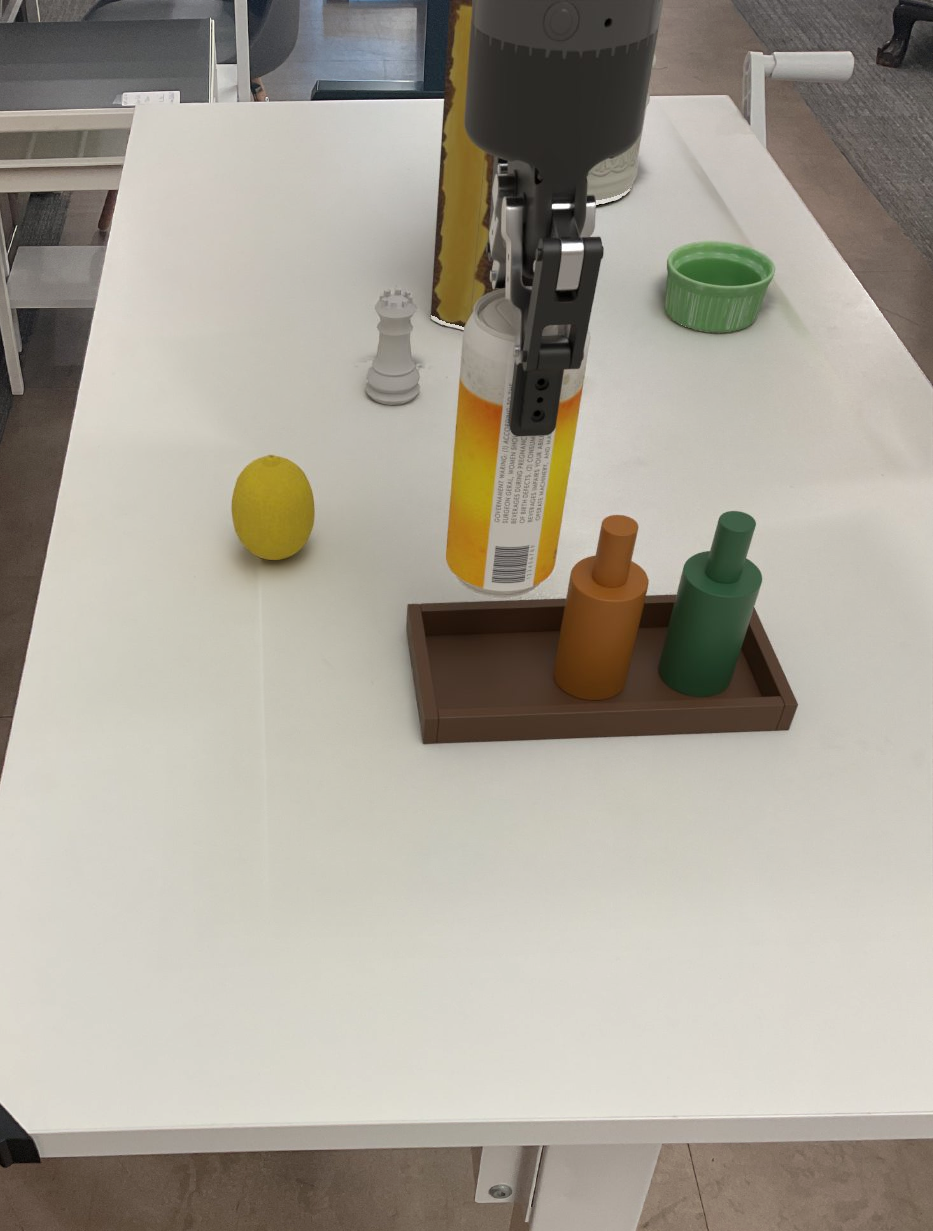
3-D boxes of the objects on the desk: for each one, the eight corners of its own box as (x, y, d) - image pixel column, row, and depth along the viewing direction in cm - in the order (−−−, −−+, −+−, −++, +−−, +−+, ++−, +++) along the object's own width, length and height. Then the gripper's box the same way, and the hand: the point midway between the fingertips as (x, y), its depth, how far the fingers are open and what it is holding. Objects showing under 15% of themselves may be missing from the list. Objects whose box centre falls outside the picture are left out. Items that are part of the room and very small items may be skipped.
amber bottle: (617, 652, 78) (651, 500, 70) (632, 699, 75) (669, 547, 67) (547, 655, 78) (572, 503, 70) (560, 702, 75) (588, 550, 67)
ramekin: (639, 299, 112) (648, 249, 109) (728, 283, 114) (740, 234, 110) (689, 344, 106) (701, 293, 103) (782, 328, 108) (796, 277, 105)
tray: (737, 624, 81) (748, 591, 79) (786, 737, 74) (798, 704, 72) (405, 636, 81) (407, 603, 79) (422, 751, 73) (424, 718, 72)
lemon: (318, 581, 84) (317, 477, 79) (236, 586, 84) (229, 482, 78) (312, 534, 88) (310, 431, 82) (233, 538, 88) (226, 435, 82)
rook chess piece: (379, 412, 99) (382, 313, 93) (355, 386, 102) (357, 289, 96) (429, 399, 100) (436, 301, 94) (404, 374, 103) (409, 278, 97)
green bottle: (720, 648, 78) (765, 497, 70) (739, 695, 75) (789, 543, 67) (650, 651, 78) (688, 499, 70) (667, 698, 75) (708, 545, 67)
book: (500, 339, 107) (537, 0, 88) (410, 318, 110) (427, -15, 91) (589, 241, 120) (636, -72, 101) (506, 224, 123) (538, -84, 104)
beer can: (535, 533, 73) (571, 277, 62) (567, 596, 69) (611, 335, 58) (433, 544, 72) (451, 288, 61) (459, 609, 68) (484, 347, 57)
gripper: (703, 68, 46) (624, 473, 58) (621, -41, 55) (568, 326, 68) (498, 74, 45) (463, 479, 58) (451, -36, 55) (430, 331, 67)
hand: (520, 395), depth 63 cm, fingers closed on beer can, 6 cm apart
